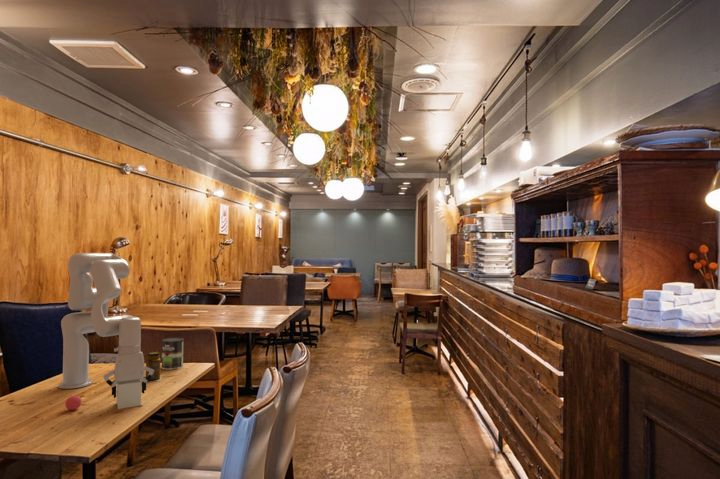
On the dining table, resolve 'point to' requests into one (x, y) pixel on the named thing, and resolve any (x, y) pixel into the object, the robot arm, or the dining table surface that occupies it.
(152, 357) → the condiment
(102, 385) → the dining table surface
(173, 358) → the coffee can
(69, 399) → the ball
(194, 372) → the dining table surface
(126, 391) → the matte cream cube
